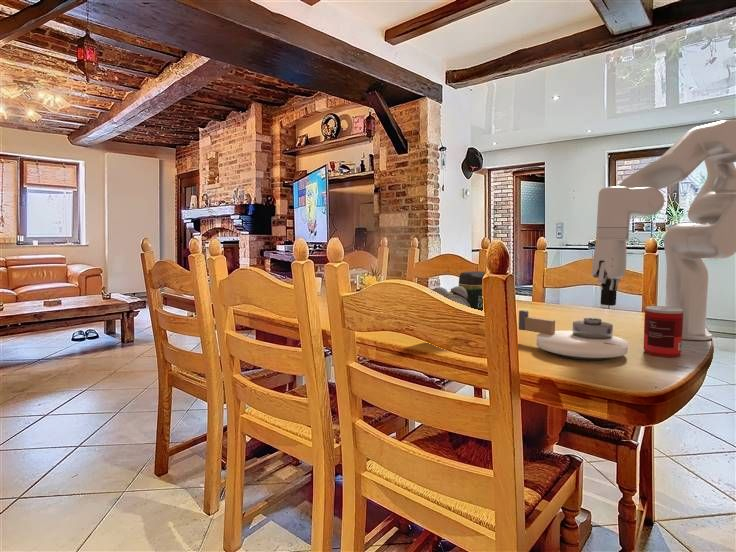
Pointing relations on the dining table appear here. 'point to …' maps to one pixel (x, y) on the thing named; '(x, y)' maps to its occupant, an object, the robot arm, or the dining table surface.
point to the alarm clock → (454, 294)
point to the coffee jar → (473, 288)
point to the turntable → (570, 340)
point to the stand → (580, 357)
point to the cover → (592, 329)
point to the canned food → (663, 331)
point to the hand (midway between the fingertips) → (608, 304)
